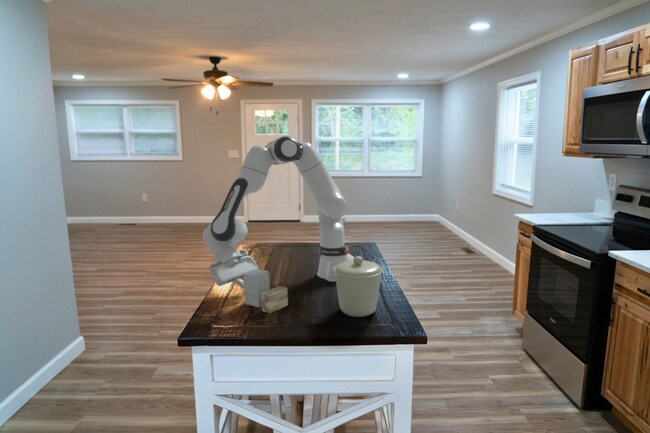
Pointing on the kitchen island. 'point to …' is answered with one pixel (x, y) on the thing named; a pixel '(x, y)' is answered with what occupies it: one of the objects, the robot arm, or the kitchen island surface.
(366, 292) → the canister
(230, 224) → the robot arm
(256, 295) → the supplement box
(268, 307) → the block
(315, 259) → the kitchen island surface
